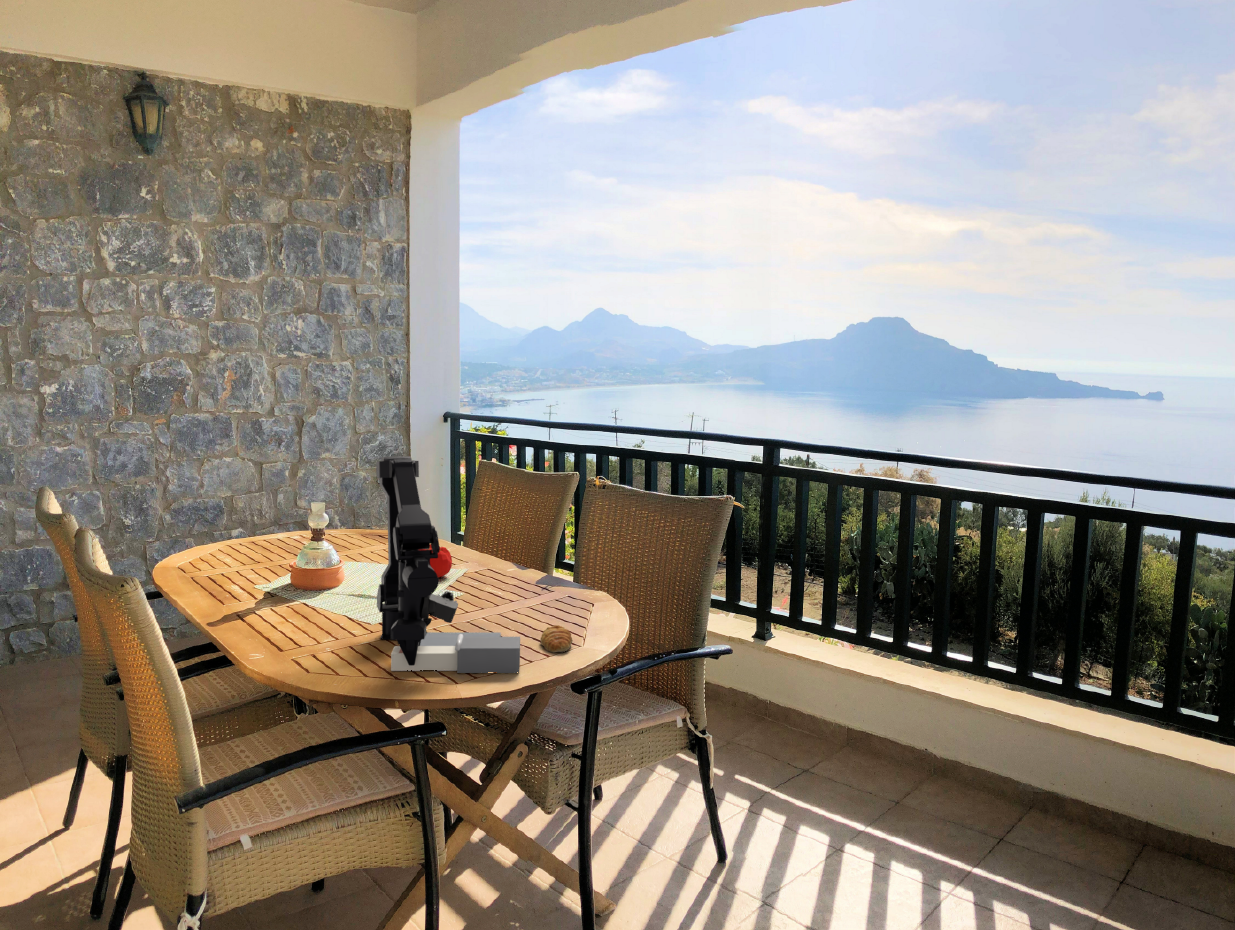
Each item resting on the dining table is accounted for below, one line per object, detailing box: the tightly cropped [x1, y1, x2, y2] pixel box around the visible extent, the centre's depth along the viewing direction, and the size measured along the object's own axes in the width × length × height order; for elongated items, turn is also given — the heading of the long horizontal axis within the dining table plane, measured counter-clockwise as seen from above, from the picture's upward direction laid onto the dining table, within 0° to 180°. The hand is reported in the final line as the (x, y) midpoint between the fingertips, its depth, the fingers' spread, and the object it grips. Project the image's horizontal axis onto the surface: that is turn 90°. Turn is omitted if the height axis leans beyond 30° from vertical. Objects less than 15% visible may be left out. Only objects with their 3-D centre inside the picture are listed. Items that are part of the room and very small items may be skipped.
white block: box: [390, 645, 458, 672], centre depth 170 cm, size 14×4×4 cm, turn 96°
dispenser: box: [455, 634, 521, 674], centre depth 171 cm, size 12×8×6 cm, turn 96°
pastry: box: [540, 624, 574, 653], centre depth 185 cm, size 9×7×4 cm
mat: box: [420, 631, 502, 646], centre depth 184 cm, size 17×13×1 cm
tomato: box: [424, 544, 453, 579], centre depth 241 cm, size 11×12×9 cm
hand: (413, 660), depth 169 cm, fingers closed on white block, 4 cm apart
